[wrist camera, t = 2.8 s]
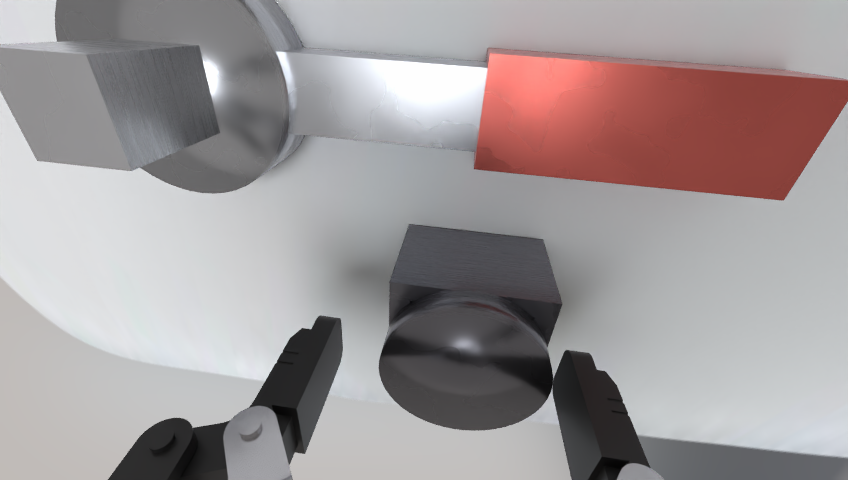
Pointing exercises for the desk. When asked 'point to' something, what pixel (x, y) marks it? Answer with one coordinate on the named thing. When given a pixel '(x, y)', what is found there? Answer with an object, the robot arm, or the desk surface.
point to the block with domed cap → (470, 328)
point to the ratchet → (394, 103)
